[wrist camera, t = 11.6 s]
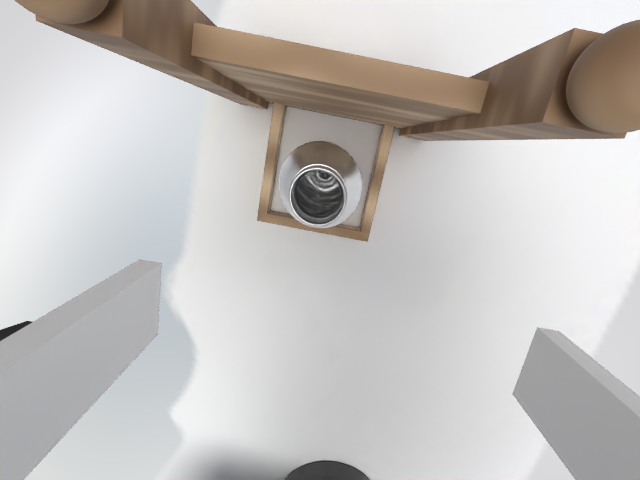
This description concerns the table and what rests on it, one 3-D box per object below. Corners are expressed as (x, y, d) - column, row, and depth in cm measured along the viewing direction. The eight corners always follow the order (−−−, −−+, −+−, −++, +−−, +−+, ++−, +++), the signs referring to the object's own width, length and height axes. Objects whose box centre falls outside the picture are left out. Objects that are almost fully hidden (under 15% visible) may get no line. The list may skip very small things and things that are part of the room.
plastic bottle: (308, 207, 42) (287, 263, 23) (288, 152, 40) (248, 162, 21) (360, 190, 41) (384, 232, 22) (342, 133, 40) (351, 125, 20)
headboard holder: (398, 243, 43) (548, 473, 13) (227, 210, 42) (-19, 370, 13) (433, 112, 39) (766, 13, 9) (243, 74, 38) (-66, -160, 9)
